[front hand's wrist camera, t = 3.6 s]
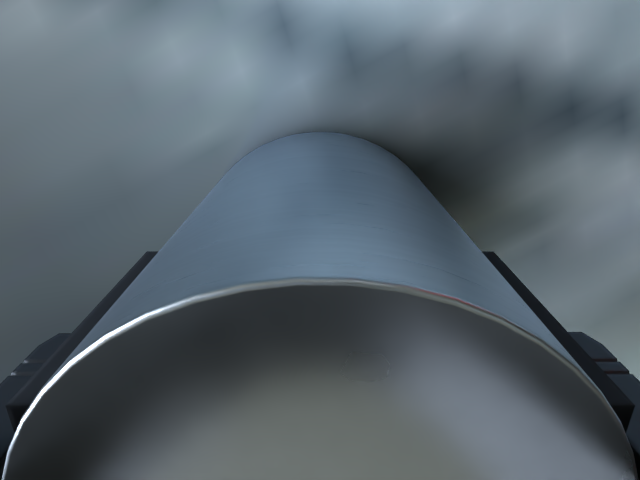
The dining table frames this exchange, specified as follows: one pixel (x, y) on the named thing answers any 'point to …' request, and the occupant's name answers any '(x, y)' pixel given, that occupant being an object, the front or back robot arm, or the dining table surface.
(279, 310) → the can
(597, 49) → the dining table surface
